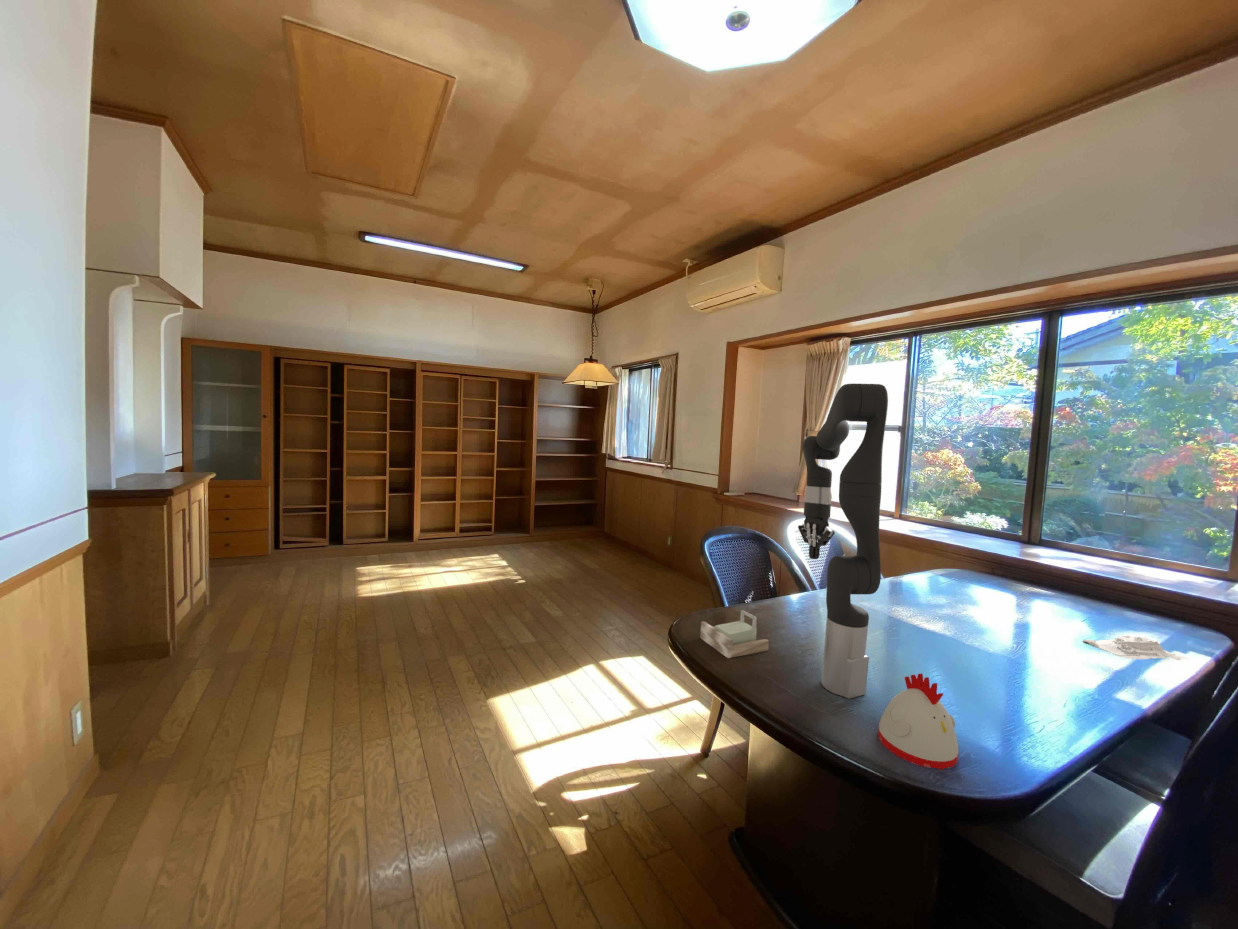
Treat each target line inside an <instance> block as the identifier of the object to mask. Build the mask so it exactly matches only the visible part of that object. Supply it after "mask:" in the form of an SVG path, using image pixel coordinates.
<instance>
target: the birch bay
mask: <svg viewBox="0 0 1238 929" xmlns="http://www.w3.org/2000/svg"><path fill="white" fill-rule="evenodd" d="M715 626H716V625H714V626H713V625H711V624H709V623H708V622H707V621H704V620H703V621H701V622H700V634H699V635H700V636H699V638H700V639H701V640H702V641H704V642H705V643H707V644H708V645H709V646H711V647H712V648H713V649H715V651H717V652H718V653H720V654H721V655H723V656H725V658H727V659H731V658H735V657H741V656H746V655H753V654H757V653H763V652H768V651H769V645H770V644H769V642H770V640H769V639H767V638H763V639H762V638H761V639H756V641H750V642H744V643H739V644H733V645H732V642H733V640H732V639H730V638H729V637H727V636H726V635H724V634H723V633H721V632H720V631H718V630H717V629H715Z"/></svg>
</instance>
